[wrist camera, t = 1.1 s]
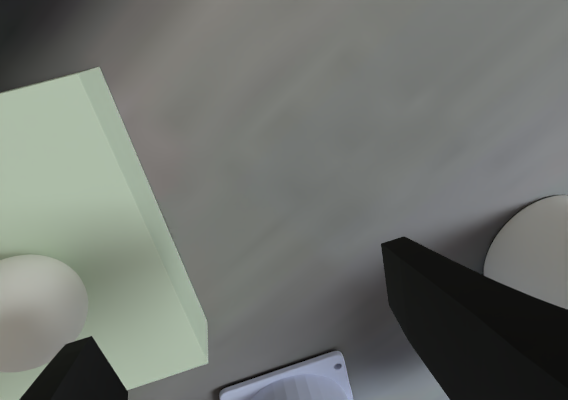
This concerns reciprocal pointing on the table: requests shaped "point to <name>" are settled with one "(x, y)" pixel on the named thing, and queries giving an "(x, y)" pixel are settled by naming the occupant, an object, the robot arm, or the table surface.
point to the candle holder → (534, 251)
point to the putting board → (95, 228)
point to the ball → (38, 310)
